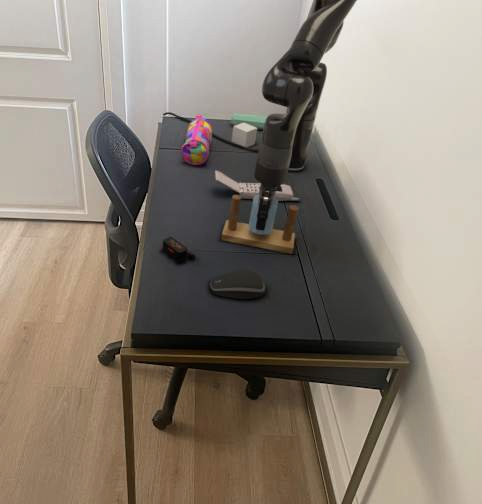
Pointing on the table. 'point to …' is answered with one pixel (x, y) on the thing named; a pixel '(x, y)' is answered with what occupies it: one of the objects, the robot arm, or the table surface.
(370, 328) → the table surface
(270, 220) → the cup
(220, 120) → the table surface
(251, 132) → the white cube
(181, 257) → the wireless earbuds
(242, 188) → the mobile phone
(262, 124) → the teal long bar
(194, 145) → the pencil case
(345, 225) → the table surface
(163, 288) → the table surface
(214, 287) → the computer mouse
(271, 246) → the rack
